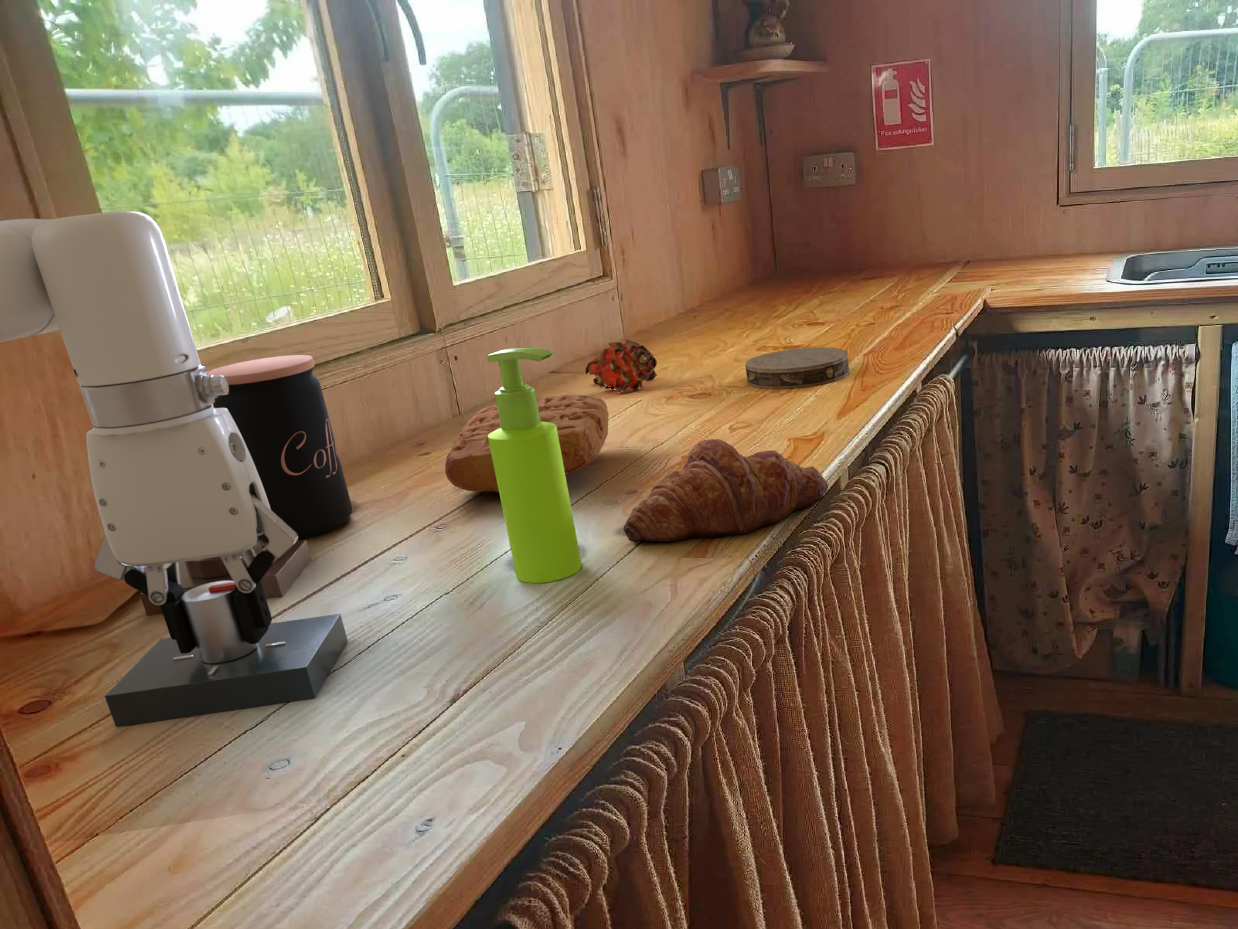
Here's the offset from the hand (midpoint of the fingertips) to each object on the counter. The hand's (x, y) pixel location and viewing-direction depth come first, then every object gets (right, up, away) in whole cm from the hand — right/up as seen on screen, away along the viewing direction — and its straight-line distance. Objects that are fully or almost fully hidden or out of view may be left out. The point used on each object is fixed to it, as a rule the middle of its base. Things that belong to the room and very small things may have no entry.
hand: (225, 638), depth 82 cm
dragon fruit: (+18, +34, +92) cm, 99 cm away
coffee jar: (-10, +10, +38) cm, 41 cm away
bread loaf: (+13, +17, +48) cm, 53 cm away
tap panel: (0, -3, +1) cm, 4 cm away
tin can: (+45, +36, +87) cm, 104 cm away
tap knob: (0, -1, 0) cm, 1 cm away
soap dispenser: (+21, +5, +17) cm, 28 cm away
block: (-10, +4, +22) cm, 25 cm away
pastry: (+37, +10, +26) cm, 46 cm away
